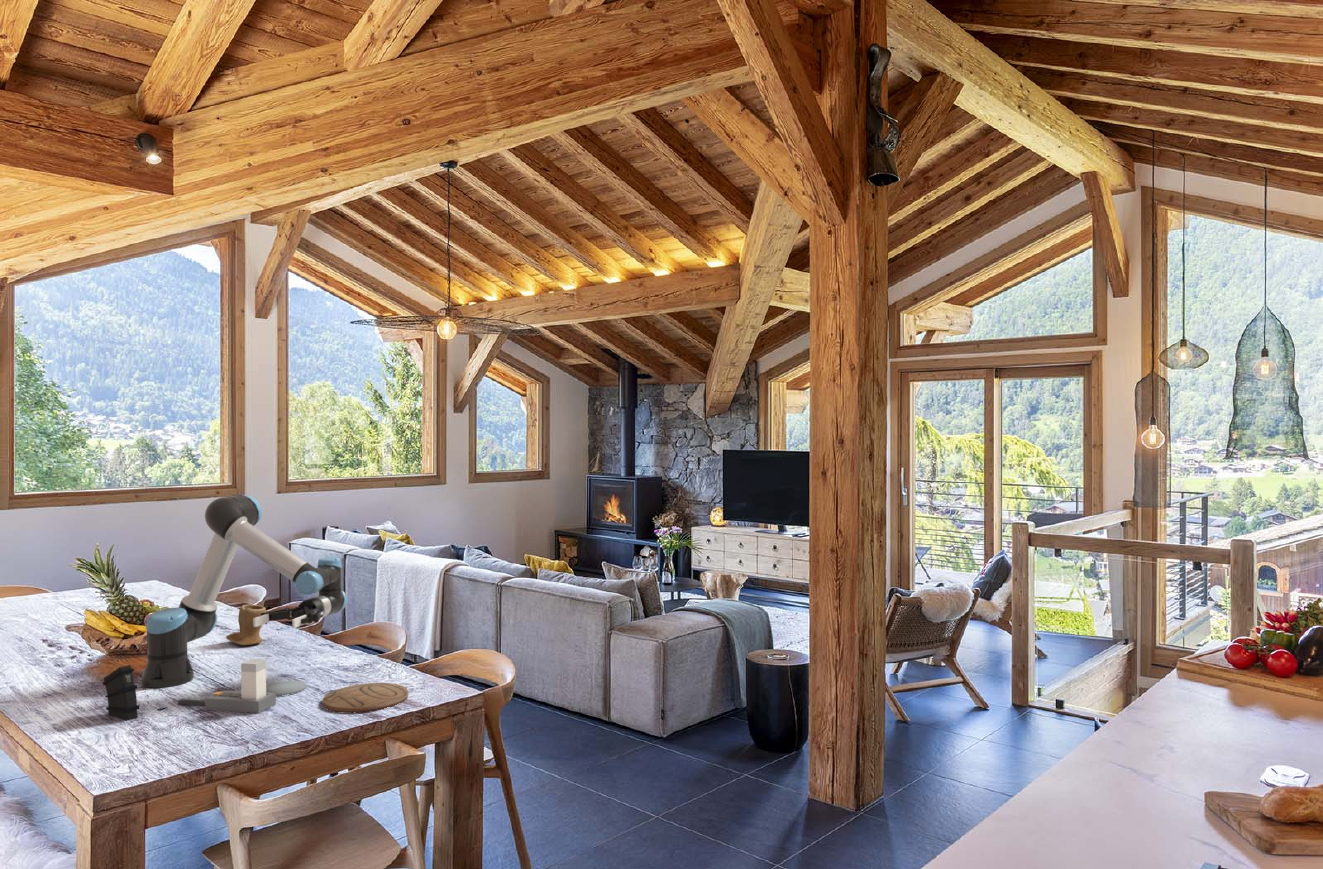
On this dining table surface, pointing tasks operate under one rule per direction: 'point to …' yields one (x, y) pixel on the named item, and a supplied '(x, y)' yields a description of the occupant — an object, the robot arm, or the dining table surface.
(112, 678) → the magazine
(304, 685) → the mat
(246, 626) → the brown boot
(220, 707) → the power strip
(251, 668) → the block
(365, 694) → the trivet
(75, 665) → the dining table surface
